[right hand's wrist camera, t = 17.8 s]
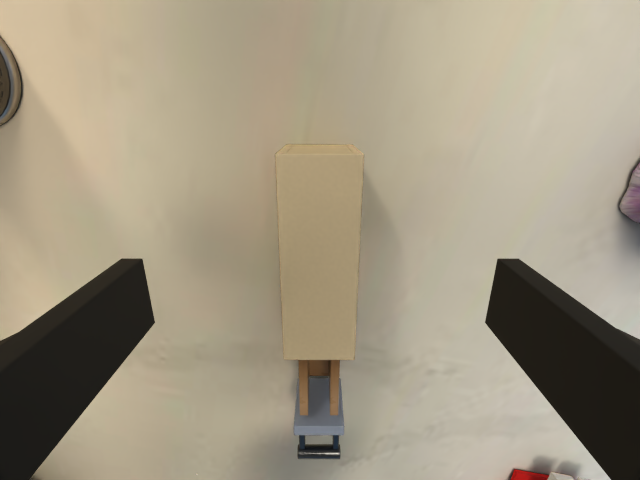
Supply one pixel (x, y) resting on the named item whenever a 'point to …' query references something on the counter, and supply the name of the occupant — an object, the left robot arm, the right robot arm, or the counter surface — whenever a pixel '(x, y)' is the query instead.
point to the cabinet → (319, 248)
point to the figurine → (632, 197)
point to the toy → (540, 476)
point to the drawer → (319, 408)
